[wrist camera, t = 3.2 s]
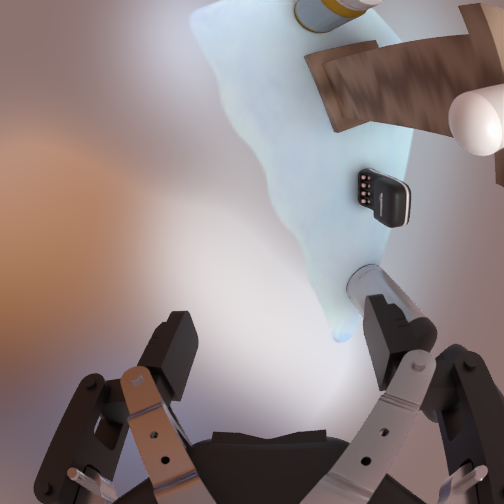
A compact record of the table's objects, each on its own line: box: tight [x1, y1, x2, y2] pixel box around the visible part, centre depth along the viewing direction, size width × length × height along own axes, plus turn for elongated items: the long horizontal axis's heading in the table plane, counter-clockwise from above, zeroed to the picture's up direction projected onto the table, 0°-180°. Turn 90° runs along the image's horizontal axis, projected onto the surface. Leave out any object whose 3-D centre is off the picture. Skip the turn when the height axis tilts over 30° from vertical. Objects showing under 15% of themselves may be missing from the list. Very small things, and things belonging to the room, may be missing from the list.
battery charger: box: [358, 169, 411, 228], centre depth 41 cm, size 7×4×11 cm, turn 8°
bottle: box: [295, 0, 383, 33], centre depth 24 cm, size 7×7×15 cm
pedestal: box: [304, 3, 504, 187], centre depth 23 cm, size 13×13×32 cm
